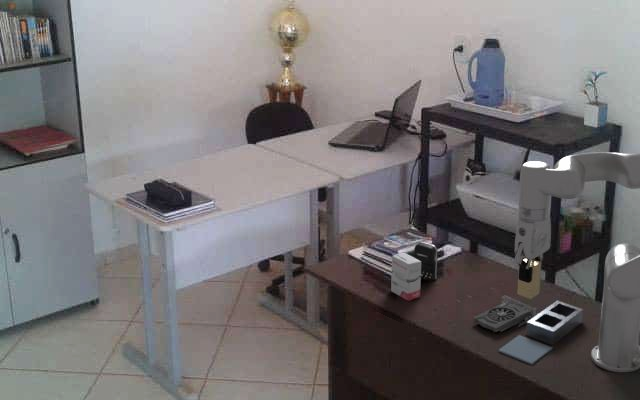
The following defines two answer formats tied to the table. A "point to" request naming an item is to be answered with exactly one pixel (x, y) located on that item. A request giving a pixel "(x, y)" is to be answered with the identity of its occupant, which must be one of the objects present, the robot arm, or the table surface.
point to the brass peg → (534, 286)
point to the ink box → (406, 276)
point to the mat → (525, 349)
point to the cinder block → (554, 322)
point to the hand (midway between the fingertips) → (529, 277)
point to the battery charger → (427, 260)
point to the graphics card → (505, 315)
